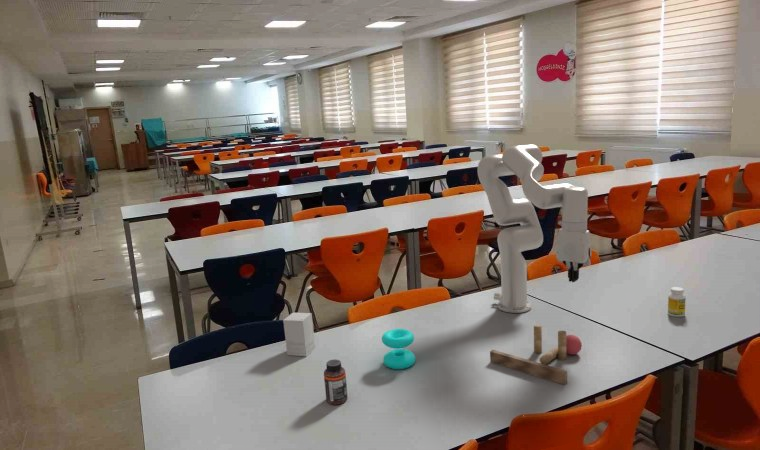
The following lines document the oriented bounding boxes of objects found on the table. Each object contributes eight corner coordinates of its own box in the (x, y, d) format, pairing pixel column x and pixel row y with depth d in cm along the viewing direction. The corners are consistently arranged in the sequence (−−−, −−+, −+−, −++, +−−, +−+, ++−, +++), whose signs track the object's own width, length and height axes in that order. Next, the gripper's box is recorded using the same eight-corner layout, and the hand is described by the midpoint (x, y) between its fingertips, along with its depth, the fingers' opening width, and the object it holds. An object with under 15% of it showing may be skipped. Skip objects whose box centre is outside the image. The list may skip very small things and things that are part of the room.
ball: (568, 341, 165) (575, 328, 168) (554, 346, 169) (561, 333, 173) (581, 356, 165) (588, 343, 168) (567, 360, 169) (574, 347, 173)
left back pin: (532, 352, 172) (532, 326, 171) (536, 349, 174) (536, 324, 172) (539, 353, 171) (539, 328, 169) (543, 351, 172) (543, 325, 171)
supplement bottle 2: (672, 310, 198) (673, 285, 196) (687, 314, 193) (689, 288, 191) (664, 314, 195) (665, 288, 193) (679, 318, 190) (680, 292, 188)
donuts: (403, 324, 175) (419, 334, 167) (405, 353, 177) (421, 365, 169) (375, 332, 171) (391, 343, 162) (378, 361, 173) (393, 374, 164)
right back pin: (556, 358, 167) (556, 332, 165) (560, 355, 168) (560, 329, 167) (564, 360, 165) (564, 334, 163) (567, 357, 167) (567, 331, 165)
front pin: (553, 346, 170) (539, 356, 164) (560, 348, 168) (546, 358, 163) (553, 353, 170) (539, 363, 165) (561, 355, 169) (546, 365, 163)
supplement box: (316, 347, 187) (312, 312, 184) (306, 357, 180) (302, 321, 177) (296, 346, 189) (293, 311, 187) (286, 355, 182) (282, 319, 180)
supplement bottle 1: (326, 395, 154) (322, 358, 152) (347, 393, 155) (344, 356, 152) (326, 406, 148) (322, 368, 146) (348, 404, 149) (344, 365, 146)
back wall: (490, 361, 168) (490, 351, 167) (493, 360, 169) (492, 349, 168) (564, 384, 151) (564, 373, 150) (567, 382, 152) (567, 371, 151)
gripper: (546, 225, 177) (546, 279, 181) (592, 231, 166) (590, 288, 170) (557, 221, 182) (557, 273, 186) (602, 226, 171) (600, 281, 176)
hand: (573, 280), depth 178 cm, fingers closed
